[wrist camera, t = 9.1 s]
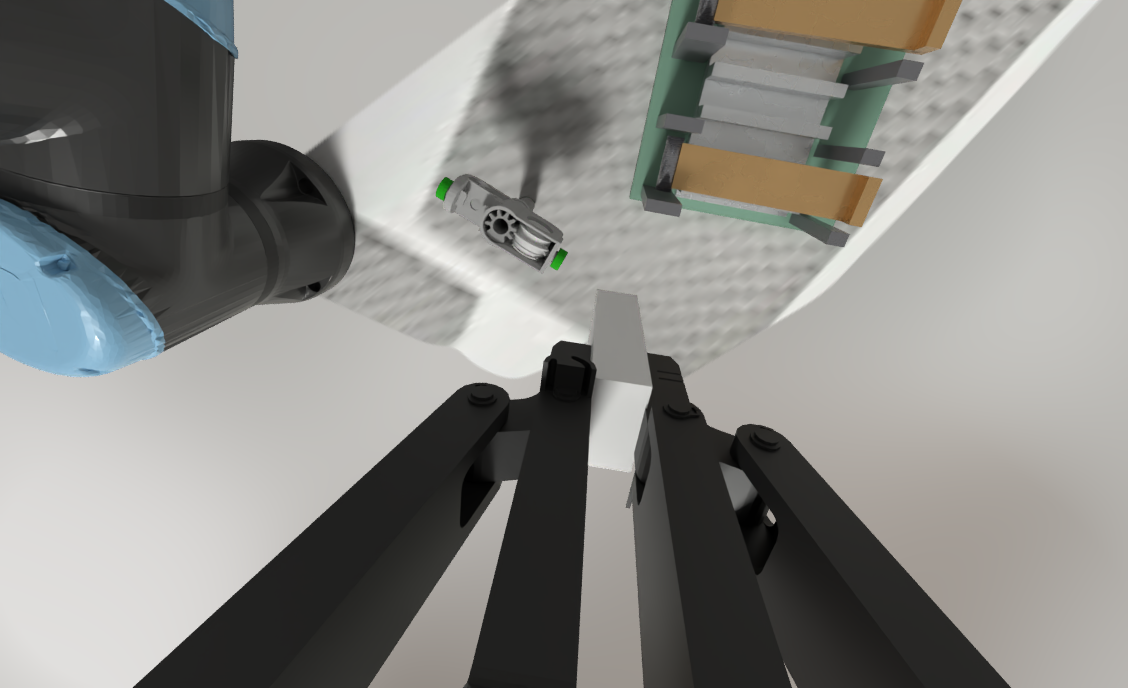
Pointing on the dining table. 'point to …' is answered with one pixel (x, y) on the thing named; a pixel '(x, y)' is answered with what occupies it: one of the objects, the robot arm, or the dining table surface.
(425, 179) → the dining table surface
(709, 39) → the set of grey pegs
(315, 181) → the robot arm
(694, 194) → the heatsink
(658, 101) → the socket board
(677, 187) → the strap
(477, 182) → the mechanical component
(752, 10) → the strap
